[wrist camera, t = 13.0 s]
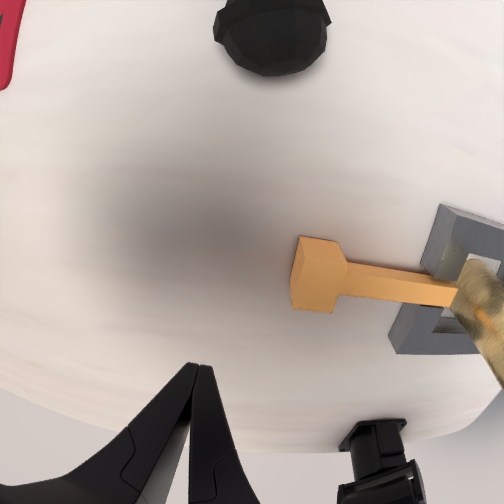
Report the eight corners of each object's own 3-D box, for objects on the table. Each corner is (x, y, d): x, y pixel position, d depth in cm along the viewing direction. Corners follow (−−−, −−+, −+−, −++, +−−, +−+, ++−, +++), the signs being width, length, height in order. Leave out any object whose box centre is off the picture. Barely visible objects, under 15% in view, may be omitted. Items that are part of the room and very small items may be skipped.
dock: (478, 338, 22) (488, 353, 20) (388, 335, 22) (396, 354, 20) (527, 234, 17) (542, 245, 15) (440, 203, 17) (456, 214, 15)
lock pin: (432, 300, 20) (449, 323, 17) (289, 281, 20) (292, 308, 17) (448, 262, 18) (468, 284, 16) (299, 236, 18) (305, 258, 15)
